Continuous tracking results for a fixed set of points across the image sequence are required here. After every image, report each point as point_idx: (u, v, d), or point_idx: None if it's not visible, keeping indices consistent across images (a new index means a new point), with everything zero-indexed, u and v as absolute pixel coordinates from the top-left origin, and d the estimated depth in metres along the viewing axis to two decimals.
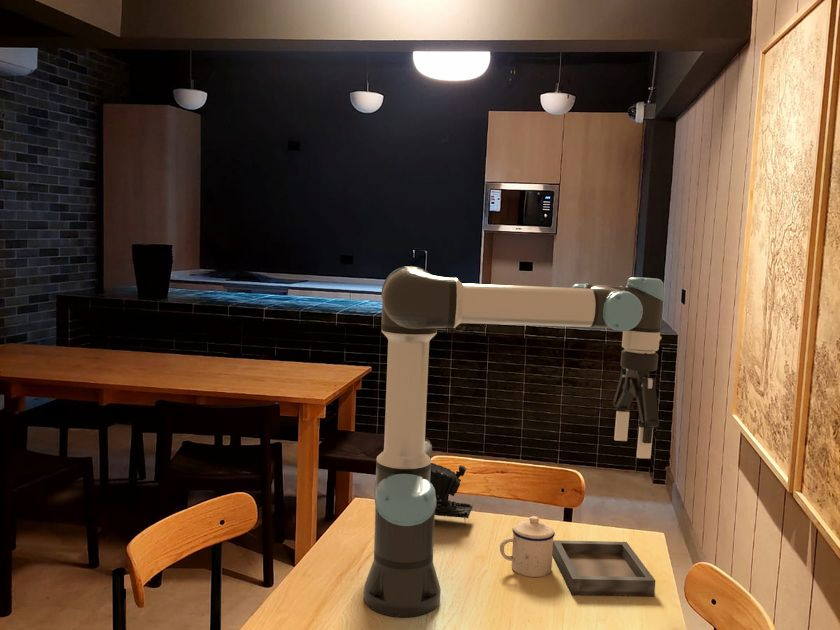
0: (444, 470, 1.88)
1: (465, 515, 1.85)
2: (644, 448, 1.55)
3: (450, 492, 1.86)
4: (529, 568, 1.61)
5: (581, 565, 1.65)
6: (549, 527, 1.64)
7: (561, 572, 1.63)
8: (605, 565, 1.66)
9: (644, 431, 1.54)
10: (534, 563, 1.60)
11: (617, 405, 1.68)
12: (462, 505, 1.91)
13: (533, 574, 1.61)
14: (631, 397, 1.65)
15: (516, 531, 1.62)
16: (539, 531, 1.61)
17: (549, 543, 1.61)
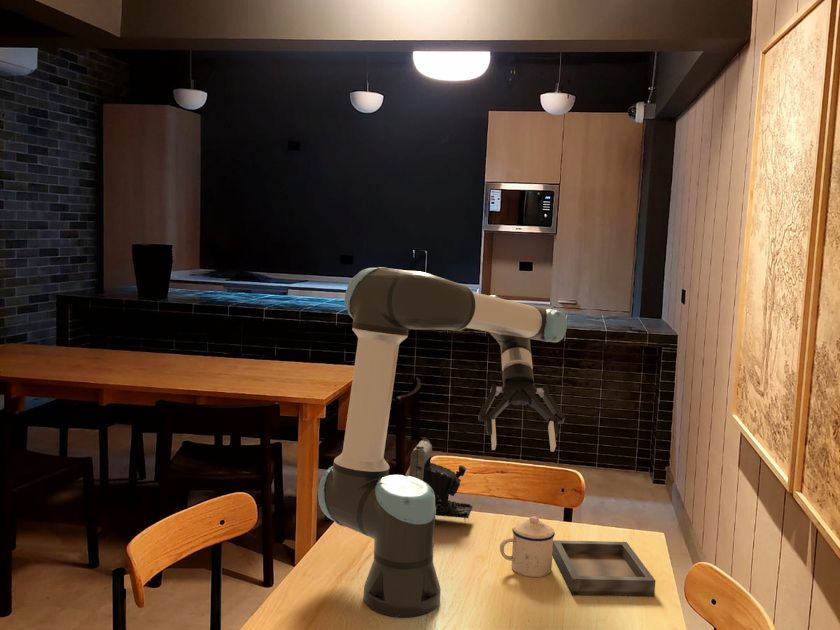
0: (444, 470, 1.88)
1: (465, 515, 1.85)
2: None
3: (450, 492, 1.86)
4: (529, 568, 1.61)
5: (581, 565, 1.65)
6: (549, 527, 1.64)
7: (561, 572, 1.63)
8: (605, 565, 1.66)
9: (555, 425, 1.76)
10: (534, 563, 1.60)
11: (491, 414, 1.77)
12: (462, 505, 1.91)
13: (533, 574, 1.61)
14: (501, 410, 1.80)
15: (516, 531, 1.62)
16: (539, 531, 1.61)
17: (549, 543, 1.61)
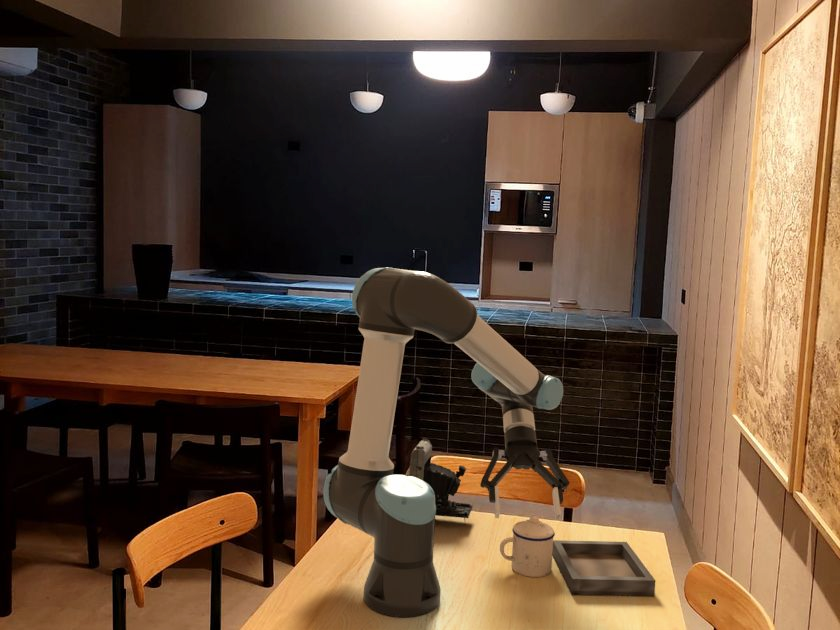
0: (444, 470, 1.88)
1: (465, 515, 1.85)
2: None
3: (450, 492, 1.86)
4: (529, 568, 1.61)
5: (581, 565, 1.65)
6: (549, 527, 1.64)
7: (561, 572, 1.63)
8: (605, 565, 1.66)
9: (560, 491, 1.72)
10: (534, 563, 1.60)
11: (494, 481, 1.72)
12: (462, 505, 1.91)
13: (533, 574, 1.61)
14: (504, 475, 1.75)
15: (516, 531, 1.62)
16: (539, 531, 1.61)
17: (549, 543, 1.61)
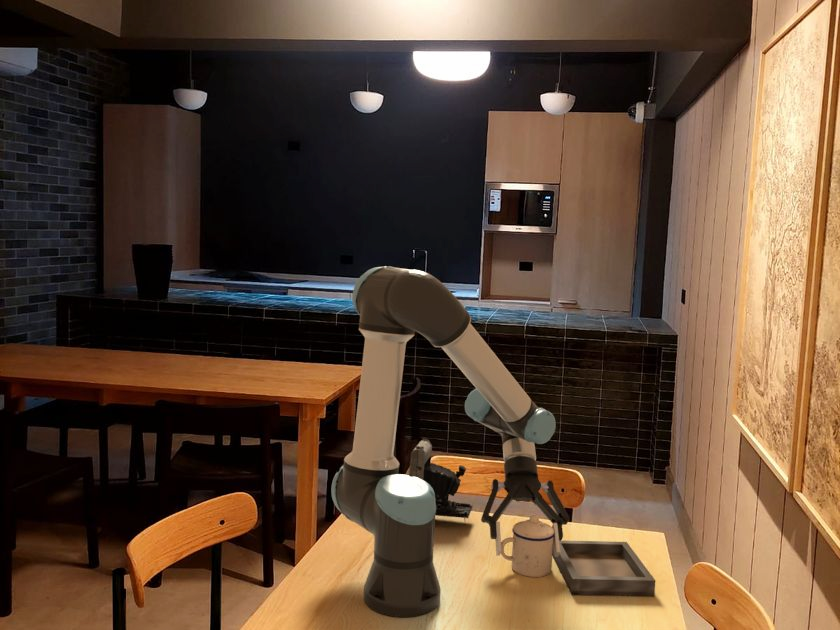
0: (444, 470, 1.88)
1: (465, 515, 1.85)
2: None
3: (450, 492, 1.86)
4: (529, 568, 1.61)
5: (581, 565, 1.65)
6: (549, 527, 1.64)
7: (561, 572, 1.63)
8: (605, 565, 1.66)
9: (559, 527, 1.65)
10: (534, 563, 1.60)
11: (495, 516, 1.65)
12: (462, 505, 1.91)
13: (533, 574, 1.61)
14: (505, 508, 1.68)
15: (516, 531, 1.62)
16: (539, 531, 1.61)
17: (549, 543, 1.61)
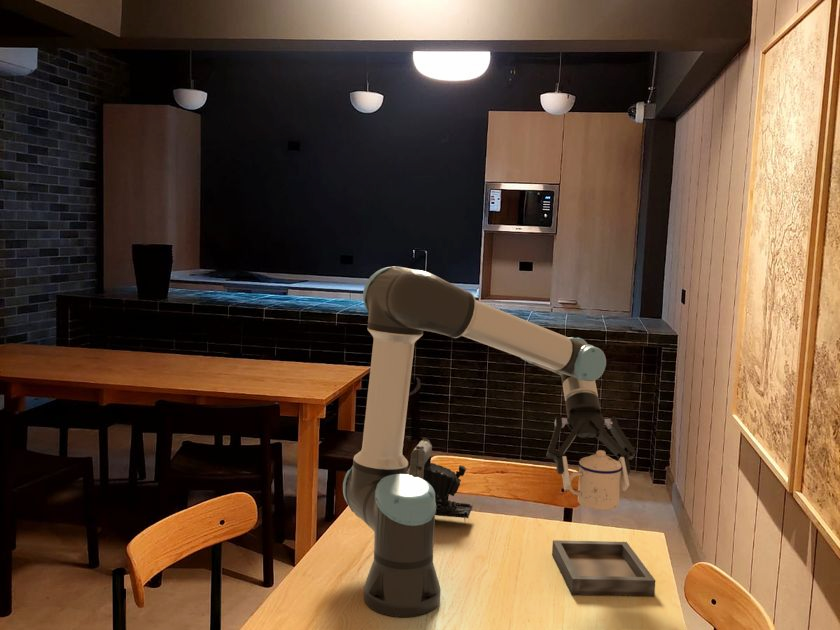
0: (444, 470, 1.88)
1: (465, 515, 1.85)
2: None
3: (450, 492, 1.86)
4: (597, 502, 1.59)
5: (581, 565, 1.65)
6: (616, 461, 1.62)
7: (561, 572, 1.63)
8: (605, 565, 1.66)
9: (626, 461, 1.63)
10: (603, 496, 1.58)
11: (561, 451, 1.63)
12: (462, 505, 1.91)
13: (602, 507, 1.59)
14: None
15: (583, 465, 1.60)
16: (607, 464, 1.59)
17: (617, 476, 1.59)
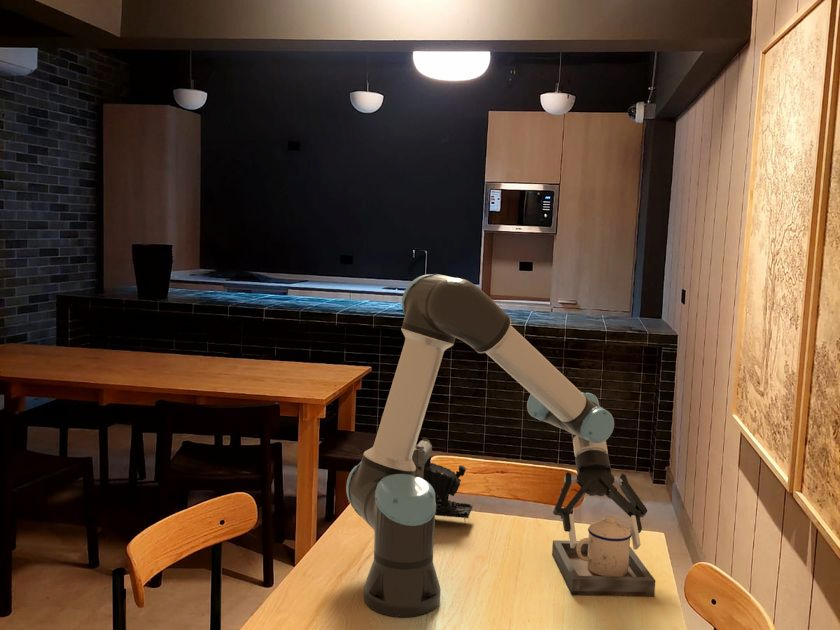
0: (444, 470, 1.88)
1: (465, 515, 1.85)
2: None
3: (450, 492, 1.86)
4: (607, 569, 1.59)
5: (581, 565, 1.65)
6: (625, 527, 1.63)
7: (561, 572, 1.63)
8: None
9: (637, 520, 1.63)
10: (612, 563, 1.59)
11: (568, 508, 1.64)
12: (462, 505, 1.91)
13: (611, 575, 1.59)
14: None
15: (593, 531, 1.61)
16: (617, 531, 1.60)
17: (627, 543, 1.60)
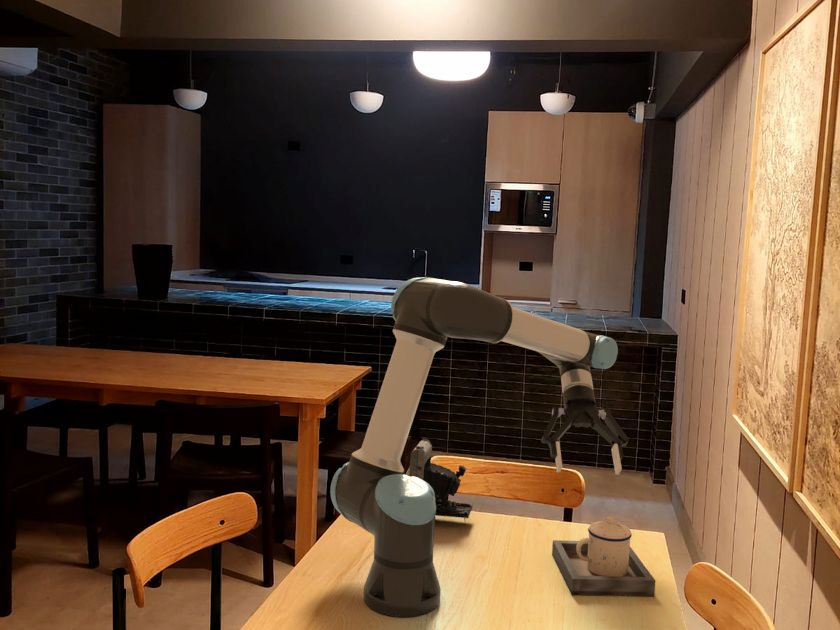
0: (444, 470, 1.88)
1: (465, 515, 1.85)
2: None
3: (450, 492, 1.86)
4: (606, 569, 1.59)
5: (581, 565, 1.65)
6: (625, 527, 1.63)
7: (561, 572, 1.63)
8: None
9: (619, 448, 1.76)
10: (612, 564, 1.59)
11: (555, 436, 1.76)
12: (462, 505, 1.91)
13: (611, 575, 1.59)
14: (564, 432, 1.79)
15: (593, 531, 1.61)
16: (617, 531, 1.60)
17: (627, 543, 1.60)
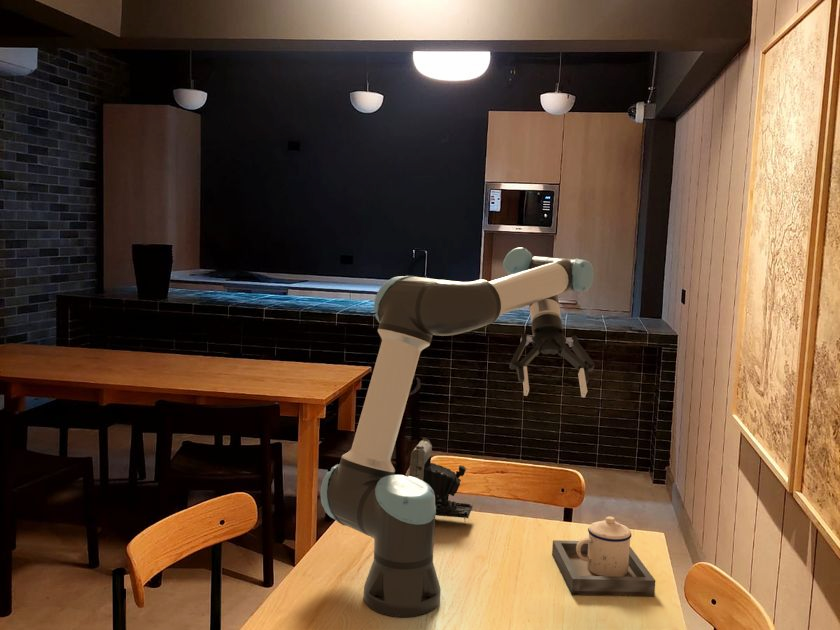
0: (444, 470, 1.88)
1: (465, 515, 1.85)
2: None
3: (450, 492, 1.86)
4: (606, 569, 1.59)
5: (581, 565, 1.65)
6: (625, 527, 1.62)
7: (561, 572, 1.63)
8: None
9: (586, 372, 1.80)
10: (612, 564, 1.59)
11: (522, 362, 1.80)
12: (462, 505, 1.91)
13: (611, 575, 1.59)
14: (532, 358, 1.83)
15: (593, 532, 1.61)
16: (616, 532, 1.60)
17: (627, 544, 1.60)
